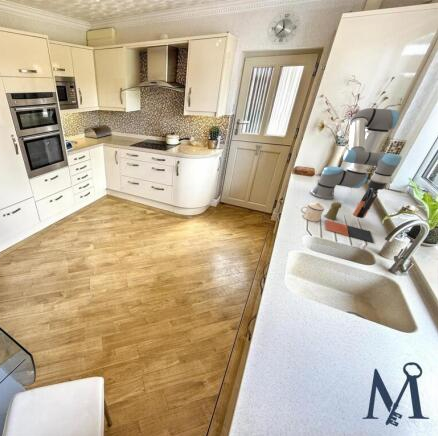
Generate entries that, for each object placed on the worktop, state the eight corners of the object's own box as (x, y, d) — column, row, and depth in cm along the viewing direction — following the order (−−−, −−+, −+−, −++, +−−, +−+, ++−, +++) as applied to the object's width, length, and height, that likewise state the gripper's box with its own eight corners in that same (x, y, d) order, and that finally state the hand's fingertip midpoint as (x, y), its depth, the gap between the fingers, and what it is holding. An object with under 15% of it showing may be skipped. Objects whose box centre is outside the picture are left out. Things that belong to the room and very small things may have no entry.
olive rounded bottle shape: (337, 220, 153) (345, 205, 148) (327, 219, 154) (334, 204, 149) (332, 215, 158) (340, 201, 153) (323, 214, 159) (330, 200, 154)
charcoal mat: (347, 226, 147) (347, 225, 147) (369, 232, 142) (369, 231, 142) (349, 236, 137) (349, 235, 137) (373, 243, 132) (373, 242, 132)
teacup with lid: (318, 217, 156) (326, 202, 150) (319, 223, 149) (327, 207, 143) (298, 212, 161) (304, 197, 155) (297, 218, 154) (304, 202, 148)
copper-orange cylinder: (352, 212, 151) (359, 199, 147) (363, 215, 149) (371, 202, 144) (353, 216, 147) (360, 203, 142) (364, 219, 144) (372, 206, 140)
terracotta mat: (325, 220, 152) (326, 219, 152) (346, 226, 147) (346, 225, 147) (326, 230, 142) (326, 229, 142) (348, 236, 137) (348, 235, 137)
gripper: (390, 188, 127) (368, 223, 139) (383, 177, 141) (364, 211, 153) (372, 184, 130) (352, 219, 142) (368, 175, 144) (350, 207, 156)
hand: (358, 215), depth 148 cm, fingers closed on copper-orange cylinder, 6 cm apart
